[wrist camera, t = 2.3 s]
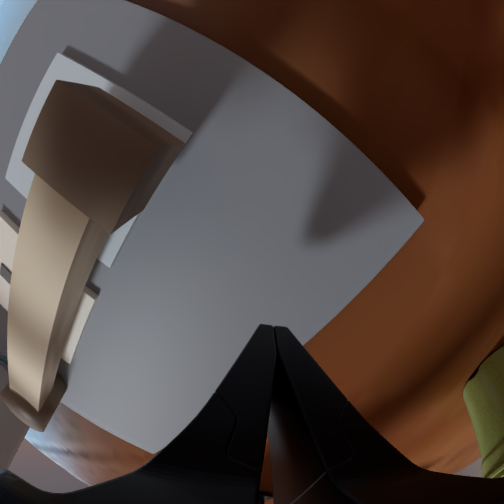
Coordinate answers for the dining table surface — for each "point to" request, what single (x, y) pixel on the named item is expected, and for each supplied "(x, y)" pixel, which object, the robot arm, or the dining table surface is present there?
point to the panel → (193, 214)
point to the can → (9, 426)
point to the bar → (72, 226)
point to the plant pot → (488, 412)
